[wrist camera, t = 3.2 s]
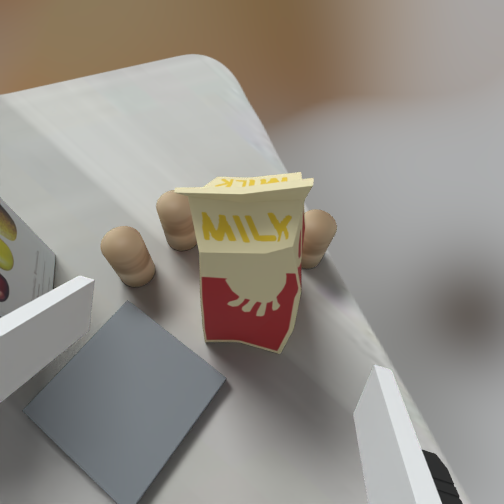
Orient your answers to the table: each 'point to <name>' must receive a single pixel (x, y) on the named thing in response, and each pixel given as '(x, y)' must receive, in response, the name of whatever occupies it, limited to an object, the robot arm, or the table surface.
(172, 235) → the posts
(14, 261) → the supplement box
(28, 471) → the table surface
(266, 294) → the milk carton
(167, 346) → the mat
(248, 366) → the table surface
